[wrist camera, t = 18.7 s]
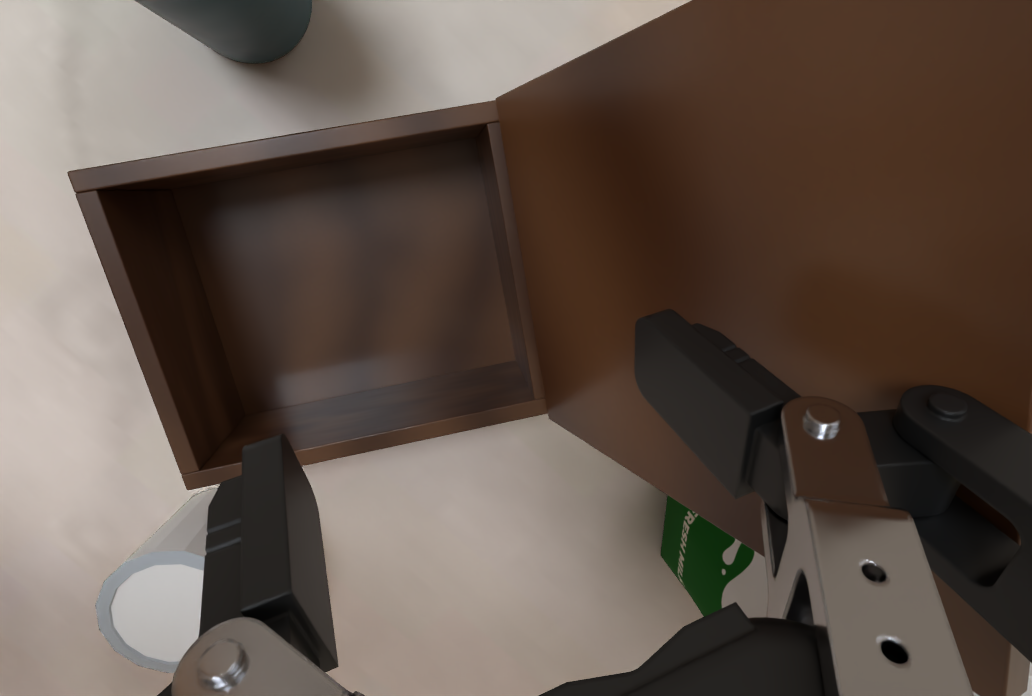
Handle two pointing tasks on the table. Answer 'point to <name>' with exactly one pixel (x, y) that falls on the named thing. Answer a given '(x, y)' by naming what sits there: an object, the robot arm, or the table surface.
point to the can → (239, 25)
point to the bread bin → (322, 287)
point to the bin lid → (787, 224)
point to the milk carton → (719, 566)
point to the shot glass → (159, 592)
